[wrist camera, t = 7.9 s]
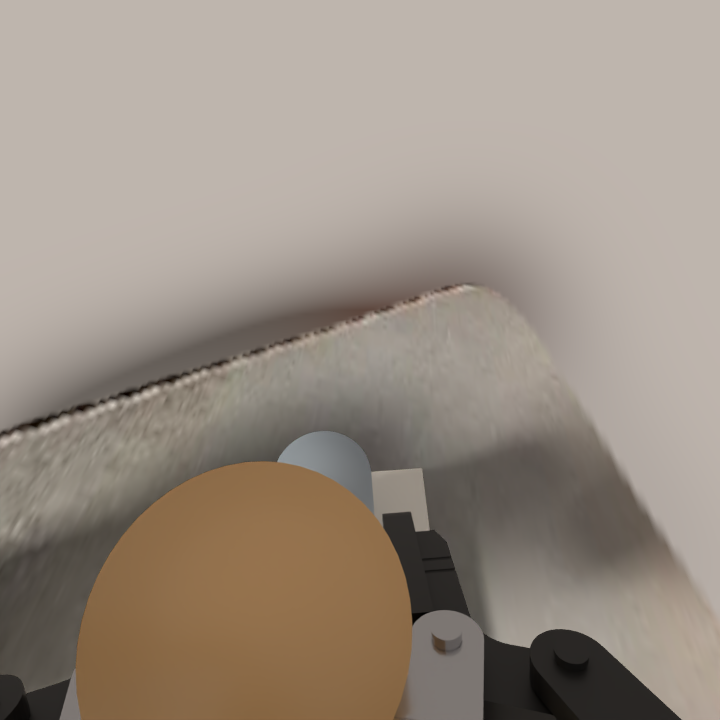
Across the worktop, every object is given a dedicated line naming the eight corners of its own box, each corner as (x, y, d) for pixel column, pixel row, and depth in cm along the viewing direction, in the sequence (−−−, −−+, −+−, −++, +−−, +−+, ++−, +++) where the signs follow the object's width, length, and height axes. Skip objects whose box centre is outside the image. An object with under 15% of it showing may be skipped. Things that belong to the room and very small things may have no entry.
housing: (448, 729, 27) (490, 770, 16) (256, 743, 27) (170, 792, 17) (419, 483, 34) (434, 395, 23) (263, 494, 34) (205, 412, 23)
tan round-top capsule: (245, 701, 16) (5, 763, 6) (289, 566, 18) (168, 430, 8) (373, 745, 15) (361, 906, 5) (404, 601, 17) (442, 503, 7)
